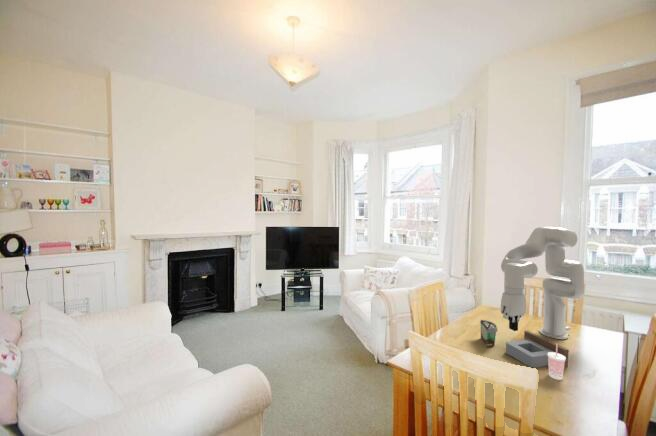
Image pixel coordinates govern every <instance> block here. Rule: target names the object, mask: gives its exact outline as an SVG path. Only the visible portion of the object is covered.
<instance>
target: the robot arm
mask: <svg viewBox="0 0 656 436" xmlns="http://www.w3.org/2000/svg"><path fill="white" fill-rule="evenodd" d="M577 243H578V235H577V233H576V232H575V231H574V230H571V229H567V228H563V227H556V226H555V227H554V226H538V227H536V228H534V230H533V231H532V232H531V234H530V235H529V237H528V239H527V240H526V241H525V243H524V244H522V245H519V246H517V247H516V246H515V248H513V249H510V250H509V251H508V252H506V254H505V255H504V257H503V260H502V261H501V263H500V264H501V265H500V269H501V271H502V272H503V273H504V274H503V276H504V279H503V280H504V284H503V285H504V287H503V289H504V290H503V291H504V292H503V293H502V295H501V300H500V314H503V315H502V318H503V319H505V320H508V328H509V330H512V331H514V332H517V331H519V322H520V320H521V318H522V317H524V316H525V314H526V310H527V303H526V301H527V299H526V294H525V279H532V278H534V277H536V275H537V274H538V271H539V270H538V266H537V264H536V263H534V262H532V261H529V260H527V259H531V258H537V257H540V256H542V255H544V256H545V259H544V260H545V261H544V262H545V263H544V264H545V272H546V273H547V274H548V275H550V277H548V276H547V277H545V278H544V279H543V280H542V284H541V285H542V291H543V320H542V322H543V323H542V327H541V328H540V327H539V333H540V334H542V335H543V336H545V337H549V338H551V339H557V340H566V339H567V340H568V338H569V334H568V333H567V331H571V330H572V328H571V327H570V326H566V311H567V308H566V305H567V304H566V302H565V300H564V298H566V299H570V300H577V301H579V300H582V299H583V297H584V294H585V271H584V266H583V264H582V263H581V262H579V261H577V260H570V259H567V258H566V250H565V248H573V247H575V246H576V245H577ZM544 253H545V254H544ZM524 259H526V260H524Z"/></svg>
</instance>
